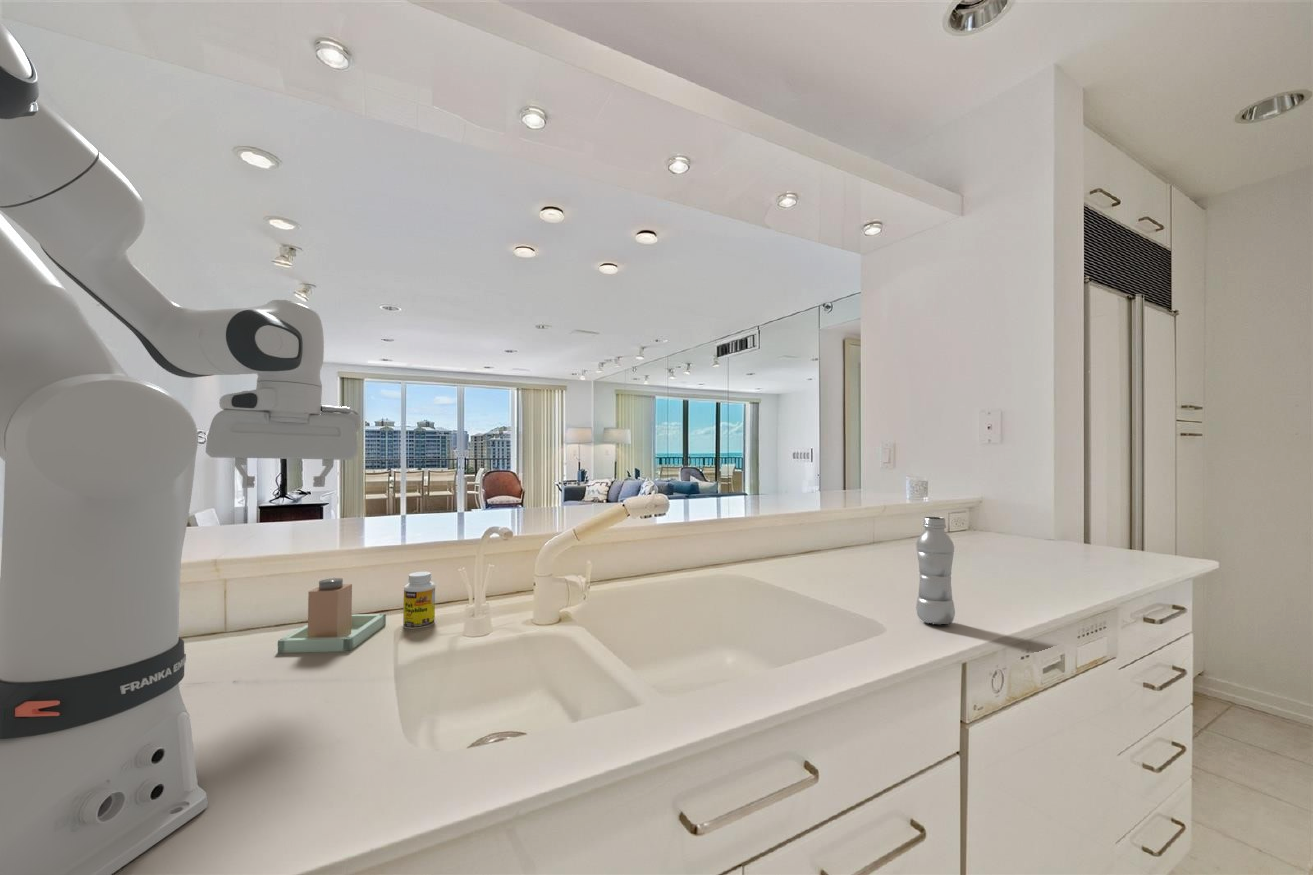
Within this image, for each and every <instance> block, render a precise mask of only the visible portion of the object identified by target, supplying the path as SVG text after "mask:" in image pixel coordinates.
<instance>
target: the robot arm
mask: <svg viewBox="0 0 1313 875" xmlns="http://www.w3.org/2000/svg"><path fill="white" fill-rule="evenodd" d="M37 74H38V73H37V71H36V68H35V65H34V63H33V62H32V60H31V59H30V56H29V55H28V54H27V52H26V50H25V49H24V47H23V46H22V45H21V43H20V42H19V41H18V40H17V39H16V37H15V36H14V35H13V34H12V32H11V31H10V30H9V29H8V28H7V27H6V26H5V25H4V24H3V23H2V21H0V212H2V213H3V214H4V215H5V216H7V217H8V218H9V219H10V220H12V221H13V222H14V223H15V224H16V225H18V226H19V227H20V228H22V229H23V231H25V232H26V233H28V234H29V236H31V237H32V238H33V239H34V240H35V241H36V242H37V243H38V244H39V246H40V248H41V250H43V252H44V253H45V255H46V256H47V257H48V258H49V260H51V262H53V263H54V264H55V266H56V267H57V268H58V269H59V270H60V271H62V272H63V273H64V274H65V275H66V276H67V277H68V278H69V279H71V280H72V281H73V282H74V283H75V284H76V285H78V287H80V288H81V289H82V290H83V291H85V292H86V293H87V294H88V295H89V296H90V297H92V298H93V299H94V300H95V301H96V302H97V303H98V304H99V305H101V306H102V307H103V308H104V309H106V310H107V311H108V312H109V313H110V314H112V315H113V317H115V318H116V319H117V320H119V322H121V323H122V324H123V325H124V326H126V328H127V329H128V330H130V331H131V332H132V333H133V334H134V335H135V337H136V338H137V339H138V340H139V341H140V343H141V344H142V345H143V348H145V350H146V351H147V353H148V354H149V356H150V357H151V358H152V360H153V361H154V362H155V363H156V364H157V365H159V366H160V367H161V368H162V369H163V370H165V371H166V372H168V373H170V374H172V375H175V376H178V377H180V378H181V377H182V378H187V379H189V378H190V379H192V378H202V377H211V376H218V375H219V376H225V375H227V376H228V375H229V376H230V375H232V376H233V375H239V376H240V375H253V374H254V375H255V374H256V375H257V379H256V386H255V387H256V388H255V389H252V390H244V391H239V392H234V393H233V392H232V393H228V394H224V395H222V396H221V397H220V398H219V408H220V409H221V410H220V411H218V412H217V413H216V414H215V415H214V416H213V418H212V420H211V423H210V425H209V429H208V433H207V438H206V445H205V454H207V456H208V457H210V458H216V459H218V458H219V459H224V458H225V459H234V467H235V468H236V469H237V472H239V474H240V475H241V477H242V482H241V484H242V486H241V487H242V489H248V488H249V489H250V488H252V489H253V488H255V481H256V477H255V475H253V476H252V475H248V473H247V472H246V470H245V469H244V467H243V466H246V465H247V459H276V460H277V459H278V460H279V459H281V460H284V459H285V460H290V459H291V460H292V459H293V460H322V461H321V466H322V467H324V468H323V469H322V471H321V473H320V474H319V475H314V476H313V480H312V481H313V482H312V486H313V487H314V488H325V485H326V477H327V476H328V474H329V473H330V472H331V471H332V469H333V467H334V460H335V461H337V460H338V461H352V460H355V458H356V457H357V456H358V455H359V454H358V453H359V446H358V442H359V441H358V434H357V432H359V430H360V427H361V424H360V423H361V416H360V415H359V413H358V412H357V411H356V410H354V409H352V408H351V407H347V406H342V407H341V406H340V407H339V406H333V405H322V394H323V391H322V390H323V384H322V380H321V369H322V368H323V364H324V357H325V356H324V354H325V350H324V349H325V345H324V344H325V342H324V340H325V338H324V329H323V323H322V320H321V318H320V316H319V314H318V313H317V312H316V311H315V310H313V309H312V308H311V307H309V306H307V305H304V304H302V303H299V302H294V301H291V300H286V299H273V300H270V301H269V302H267V303H266V304H265V303H264V304H263V305H259V306H253V307H240V308H239V307H238V308H236V307H235V308H221V309H202V310H200V309H199V310H198V309H193V308H188V307H186V306H182V305H179V304H177V303H174V302H173V301H172V300H170V299H169V298H168V297H167V296H166V295H165V294H164V293H163V291H161V290H160V289H159V288H158V287H157V286H156V285H155V284H154V283H153V282H152V281H151V280H150V279H149V278H148V277H147V276H146V275H144V274H143V272H141V271H140V269H139V268H138V267H137V266H135V265H134V263H132V261H131V260H130V258H129V257H128V255H127V252H126V251H127V250H128V249H129V248H130V247H131V246H132V245H133V244H134V243H135V242H136V241H137V240H138V238H139V237H140V236H141V234H142V232H143V230H144V226H145V223H146V208H145V205H144V204H145V203H144V201H143V199H142V196H140V194H139V193H138V192H137V190H136V189H135V187H134V185H132V183H131V182H130V181H129V179H128V178H126V176H125V175H124V174H123V173H122V172H121V171H120V170H119V169H118V168H117V167H116V166H115V165H114V164H113V163H112V162H111V161H110V160H109V159H108V158H106V157H105V156H104V155H103V153H101V152H100V151H99V150H98V149H97V148H96V147H95V146H94V145H92V143H90V141H88V139H86V138H85V137H84V136H83V135H82V134H81V133H80V132H78V130H76V129H75V128H74V127H73V126H72V125H70V123H69V122H67V121H66V120H65V119H64V118H62V116H60V115H59V114H58V113H56V112H55V111H54V110H53V109H52V108H50V107H49V106H48V105H46V103H44V102H43V100H41V99H39V96H40V89H39V88H40V86H39V78H38V75H37ZM198 445H199V434H198V428H197V424H196V422H195V419H194V418H193V416H192V414H191V412H190V411H189V410H188V409H187V407H186V406H185V405H184V404H183V403H182V402H181V401H180V400H179V398H177V397H176V396H174V395H173V394H172V393H171V392H169V391H168V390H166V389H164V388H163V387H160V386H158V385H157V384H155V383H152V382H149V381H146V380H144V379H141V378H138V377H133V376H129V374H128V373H127V372H126V370H125V368H124V367H122V365H121V364H120V362H119V361H118V360H117V359H116V357H115V356H114V355H113V353H112V352H111V351H110V350H109V348H108V347H107V345H106V344H105V342H104V341H103V340H102V338H101V337H100V336H99V334H98V333H97V331H96V330H95V328H94V326H92V324H91V323H90V322H89V320H88V319H87V317H86V315H85V314H84V313H83V311H82V309H81V308H80V306H79V305H78V303H77V301H76V299H75V298H74V297H73V295H72V294H71V293H70V292H69V290H67V289H66V287H65V286H64V285H63V284H62V283H61V281H60V279H59V280H58V278H57V277H56V276H55V275H54V273H53V272H52V271H51V270H50V269H49V268H48V266H47V265H46V264H45V263H44V262H43V261H42V260H41V259H40V257H39V256H38V255H37V254H36V252H34V251H33V249H32V248H31V247H30V246H29V244H28V243H26V241H25V240H24V239H23V238H22V236H21V235H20V234H19V233H18V232H17V231H16V230H15V229H14V228H13V226H11V224H10V223H9V222H8V221H7V219H6V218H5V217H4V216H3V215H2V214H1V213H0V458H1V459H2V461H4V483H3V485H4V486H3V487H4V488H3V514H2V516H3V517H2V534H1V536H2V537H1V539H2V540H1V556H0V557H1V558H0V561H1V562H0V875H113V874H114V873H116V872H117V871H118V870H120V869H121V868H122V867H125V865H127V864H129V863H130V862H131V861H133V860H134V859H136V858H137V857H139V855H141V854H143V853H144V852H146V851H147V850H149V849H150V848H151V847H153V846H154V845H157V843H158V842H160V841H162V840H163V839H164V838H166V837H168V836H169V835H170V834H171V833H173V832H175V831H176V830H177V829H179V828H181V827H182V826H183V825H184V824H186V823H187V822H189V821H190V820H191V819H193V818H194V817H196V816H198V815H199V814H200V813H202V812H203V811H205V809H206V808H207V807H208V796H207V792H206V791H205V790H204V789H203V788H202V787H201V786H199V785H198V784H199V777H198V775H197V770H196V758H195V750H194V749H195V748H194V747H195V746H194V740H193V732H192V730H193V729H192V723H191V718H190V714H189V711H188V710H187V708H186V705H185V703H184V701H183V698H182V694H181V689H180V683H181V681H183V678H184V677H185V664H186V663H187V654H186V653H185V641H184V639H183V638H181V637H179V636H180V635H179V634H180V633H179V632H180V601H181V600H180V598H181V570H182V569H181V568H182V567H181V566H182V553H183V547H184V541H185V537H186V532H187V527H188V526H187V525H188V521H189V515H190V509H191V502H192V494H193V486H194V480H195V479H194V478H195V468H196V459H197V458H196V457H197V451H198Z"/></svg>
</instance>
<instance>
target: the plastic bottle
mask: <svg viewBox="0 0 1313 875" xmlns="http://www.w3.org/2000/svg"><path fill="white" fill-rule="evenodd" d="M923 528H924V530H923V532H922V533H921V534H920V535H919V537H918V538H917V541H916V544H915V546H916V552H917V561H918V569H919V570H918V572H919V582H918V583H919V585H918V596H917V600H916V606H915V608H916V615H917V617H918V619H919V620H920V619H921V620H922V621H921V620H920V621H921V622H923V621H924V623H927V624H929V623H934V624H948V625H950V624H949V623H951V624H952V623H953V622H954V620H955V617H956V616H955V615H956V610H955V608H956V607H955V603H954V600H953V592H952V570H953V569H952V566H953V560H954V552H955V545H954V542H953V540H952V539H951V537H950V536H949V535H948V534H947V533H946V531H945V529H946V528H947V525H946V518H945V517H939V516H924V517H923ZM934 624H933V625H934Z"/></svg>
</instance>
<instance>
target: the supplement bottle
mask: <svg viewBox="0 0 1313 875" xmlns="http://www.w3.org/2000/svg"><path fill="white" fill-rule="evenodd" d="M402 610H403V616H402V619H403V620H402V623H403V624H402V626H403V627H404V628H405V629H421V628H426V627H429V626H431V625H434V624H435V619H436V616H435V614H436V613H435V612H436V584H435V582H433V581H432V573H431V572H430V571H415V572H412V573H410V574H408V583H406V584H405V585H404V587H403V609H402Z"/></svg>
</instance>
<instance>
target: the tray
mask: <svg viewBox="0 0 1313 875" xmlns="http://www.w3.org/2000/svg"><path fill="white" fill-rule="evenodd" d="M386 619H387V613H368V614H367V613H363V614H362V613H361V614H354V613H353V614H352V617H351V634H350V635H349V636H347V637H322V638H308V623H307V624H305V625H304V626H301V627H300V628H298V629H296V630H295V631H293V632H291V633H289V634H287V635H286V636H283V637H282V638H280V639H279V640H277V654H287V653H288V654H295V653H297V654H300V653H332V652H333V653H335V652H336V653H337V652H338V653H339V652H351V651H353V649H355V648H357V647H358V646H359V645H360V644H361V643H363V642H364V641H366V640H367V639H368V638H370V637H371V636H372V635H374V634H375V633H376V632H378V631H379V630H380V629H382V628H383V627H384V626H386V624H387V620H386Z"/></svg>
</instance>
